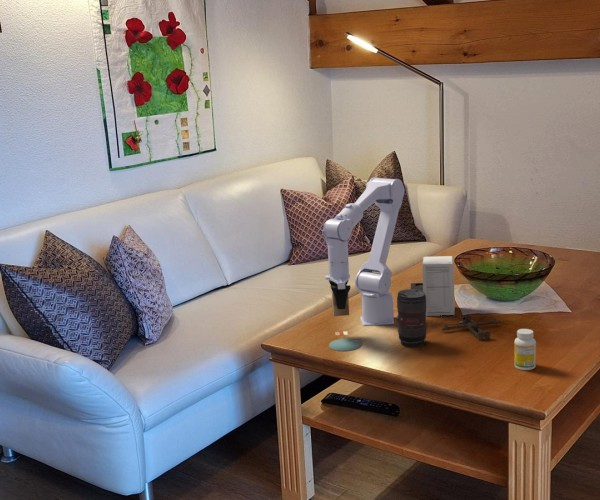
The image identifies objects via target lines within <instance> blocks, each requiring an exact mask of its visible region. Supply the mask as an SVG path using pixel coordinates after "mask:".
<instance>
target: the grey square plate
mask: <svg viewBox="0 0 600 500" xmlns="http://www.w3.org/2000/svg"><path fill="white" fill-rule="evenodd" d="M342 332H343V336H348V335H349V332H348V331H347V330H345V331H342ZM334 333H335V336H341V335H340V332H339V331H335V332H334Z"/></svg>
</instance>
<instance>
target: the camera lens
mask: <svg viewBox="0 0 600 500" xmlns="http://www.w3.org/2000/svg"><path fill="white" fill-rule="evenodd" d="M396 308H397V309H396V310H397V316H396V323H397V333H398V338H399V340H400V345H402V346H403V347H407V348H419V347H423V346H424V345H425V343H426V338H427V316H426V294H425V292H424V291H421V290H417V289H411V288H408V289H407V288H406V289H401V290H400V291H399V290H398V292H397V297H396Z"/></svg>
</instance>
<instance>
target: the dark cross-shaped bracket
mask: <svg viewBox="0 0 600 500" xmlns="http://www.w3.org/2000/svg"><path fill="white" fill-rule="evenodd" d="M499 323H501V321H500V320H498V319H496V318H494V319H492V320H489V321H483V322H482V321H481V322H479V321H478V322H476V321H474V320H473V319H472V316H471V315H469V314H467V315H466V316H464V317H462V320H460V321H458V324H459V325H447V324H445V325H444V326H442V327H441V331H449V330H456V329H457V330H458V329H467V330H468V331H469V332H470V333H472V334H473V335H474V337H476V338H477V339H478V340H479V341H484V340H485V341H486V340H487V341H488V340H490V336H491V330H487V329H486V330H485V331H483V330H482V329H481V328H480V327H482V326H488V325H496V324H499Z"/></svg>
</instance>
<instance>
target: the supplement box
mask: <svg viewBox="0 0 600 500" xmlns="http://www.w3.org/2000/svg"><path fill="white" fill-rule="evenodd" d="M421 266H422V267H421V268H422V283H423V291H424V292H425V294H426V317H443V316H442V315H454V316H455V307H456V306H455V278H454V277H455V275H454V261H453V255H443V256H439V255H438V256H423V257H422V265H421ZM440 315H441V316H440Z"/></svg>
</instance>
